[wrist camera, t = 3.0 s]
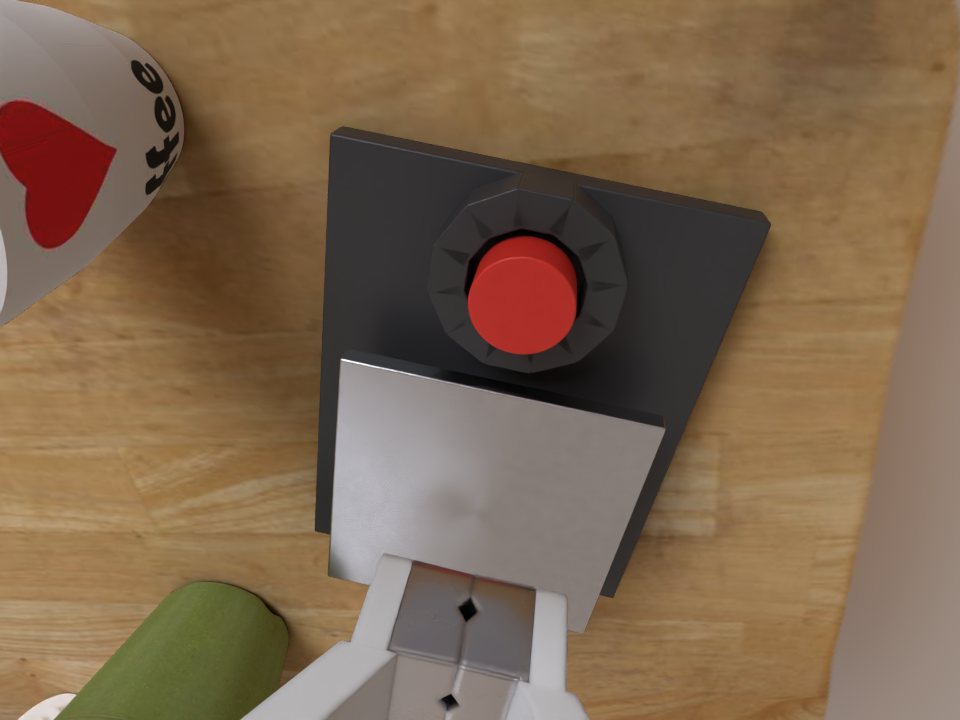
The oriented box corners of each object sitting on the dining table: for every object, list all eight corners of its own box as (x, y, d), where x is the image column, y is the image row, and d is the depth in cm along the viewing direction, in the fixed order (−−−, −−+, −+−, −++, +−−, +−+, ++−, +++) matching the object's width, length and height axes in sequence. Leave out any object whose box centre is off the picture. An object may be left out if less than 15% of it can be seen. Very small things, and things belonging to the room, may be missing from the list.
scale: (341, 123, 21) (308, 144, 19) (764, 209, 21) (789, 243, 18) (322, 513, 31) (299, 562, 28) (612, 578, 30) (615, 633, 28)
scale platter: (347, 346, 22) (339, 358, 21) (664, 414, 22) (667, 429, 21) (333, 562, 28) (327, 576, 27) (583, 618, 28) (583, 634, 27)
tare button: (484, 225, 20) (476, 246, 18) (588, 246, 20) (588, 269, 18) (468, 317, 21) (460, 343, 20) (563, 337, 21) (562, 364, 20)
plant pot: (360, 684, 38) (285, 927, 28) (184, 686, 40) (61, 908, 31) (286, 538, 32) (161, 779, 23) (88, 551, 35) (-100, 772, 25)
